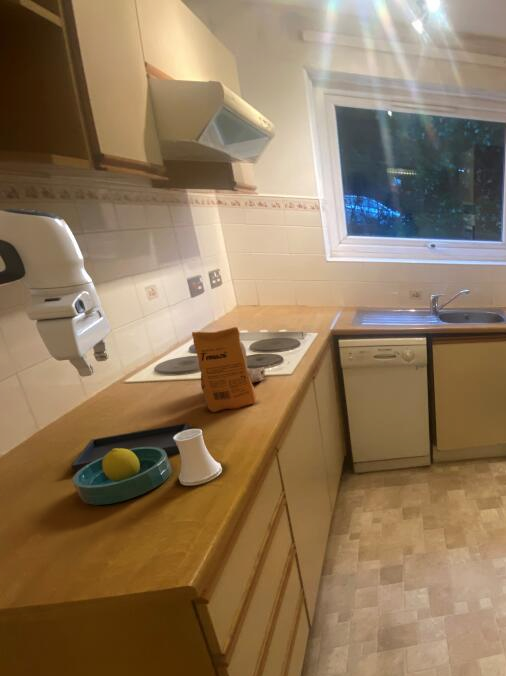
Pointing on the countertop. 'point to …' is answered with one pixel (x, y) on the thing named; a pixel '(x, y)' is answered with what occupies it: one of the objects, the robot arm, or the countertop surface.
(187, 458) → the vase
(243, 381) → the coffee package
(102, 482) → the bowl
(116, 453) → the lemon
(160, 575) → the countertop surface
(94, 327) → the robot arm
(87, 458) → the tray
